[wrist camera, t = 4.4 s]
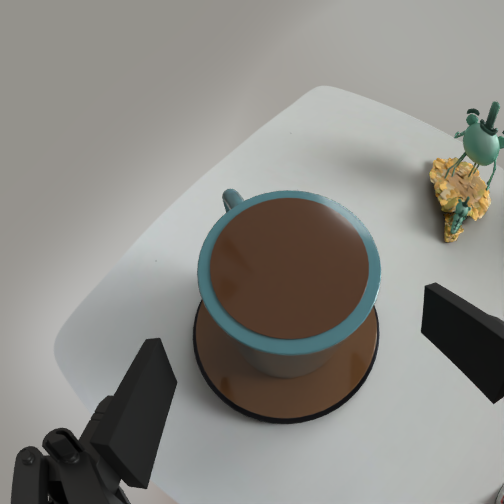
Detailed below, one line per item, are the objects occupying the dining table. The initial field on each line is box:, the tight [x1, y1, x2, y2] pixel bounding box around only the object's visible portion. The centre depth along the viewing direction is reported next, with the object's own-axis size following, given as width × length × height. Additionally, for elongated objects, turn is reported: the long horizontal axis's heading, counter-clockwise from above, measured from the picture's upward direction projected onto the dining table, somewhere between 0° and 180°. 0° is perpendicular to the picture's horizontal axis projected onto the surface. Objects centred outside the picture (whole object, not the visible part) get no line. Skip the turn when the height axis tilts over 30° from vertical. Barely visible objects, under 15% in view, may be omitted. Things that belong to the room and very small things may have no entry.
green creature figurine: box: [429, 102, 504, 242], centre depth 22 cm, size 10×18×15 cm, turn 128°
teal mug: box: [196, 189, 381, 418], centre depth 16 cm, size 14×14×11 cm
